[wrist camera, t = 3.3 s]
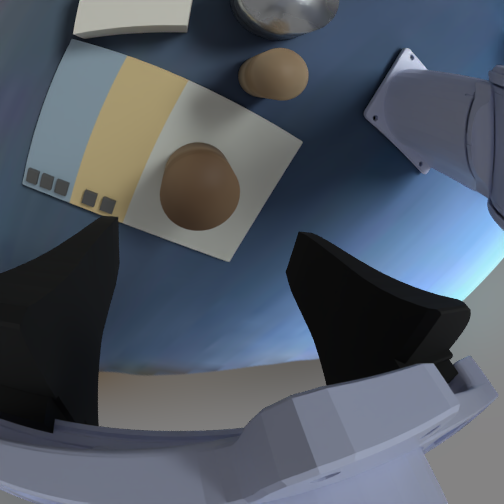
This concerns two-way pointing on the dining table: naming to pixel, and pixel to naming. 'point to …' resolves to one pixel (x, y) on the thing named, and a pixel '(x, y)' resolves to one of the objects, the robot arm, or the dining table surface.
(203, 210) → the walnut cylinder
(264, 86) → the cork
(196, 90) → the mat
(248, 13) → the tin
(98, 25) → the soap bar
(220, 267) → the dining table surface
